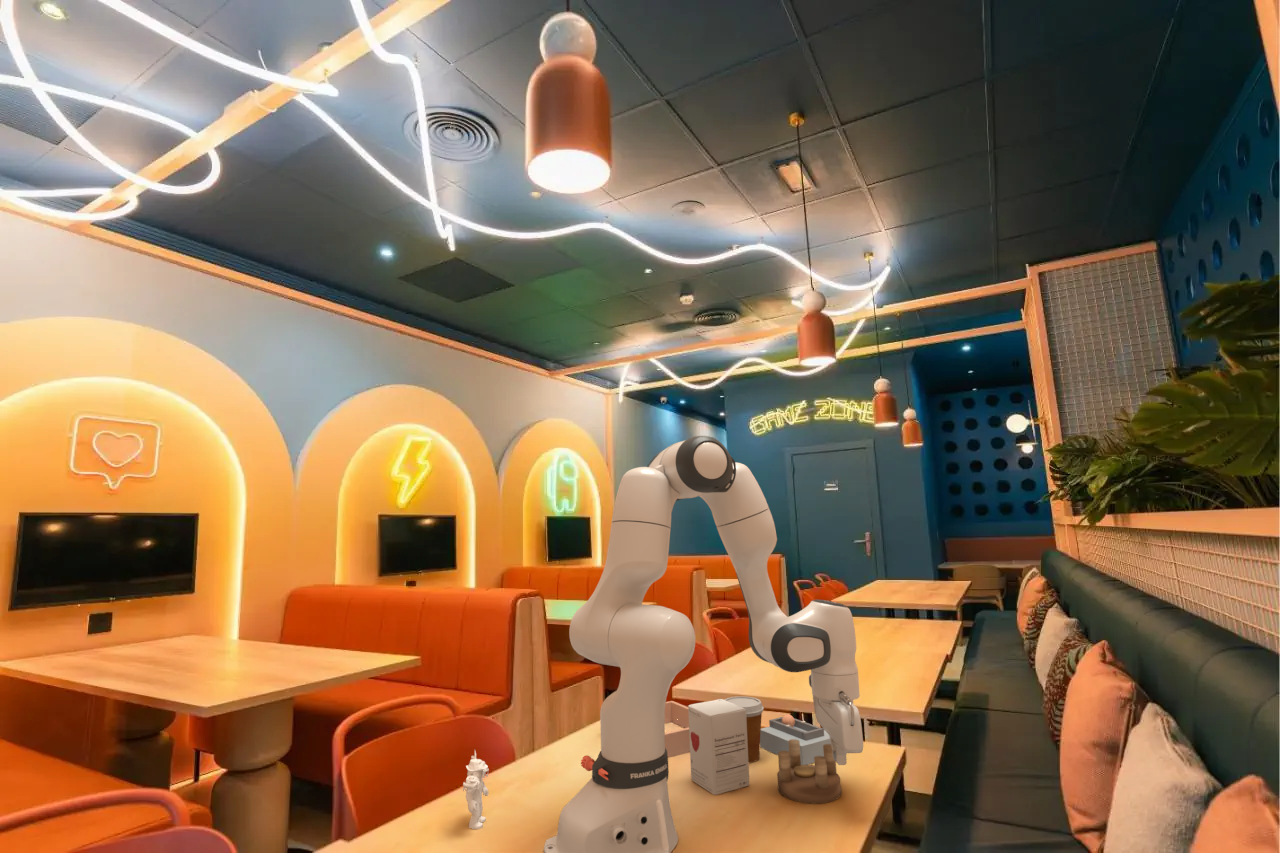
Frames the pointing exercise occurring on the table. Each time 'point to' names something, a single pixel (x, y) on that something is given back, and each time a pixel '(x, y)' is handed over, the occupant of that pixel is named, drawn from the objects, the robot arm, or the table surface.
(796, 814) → the table surface
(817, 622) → the robot arm
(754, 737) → the disposable coffee cup
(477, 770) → the flower shoulder figurine
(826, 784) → the dial
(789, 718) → the indicator ball
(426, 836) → the table surface
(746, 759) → the supplement box
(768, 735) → the stand
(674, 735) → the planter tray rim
